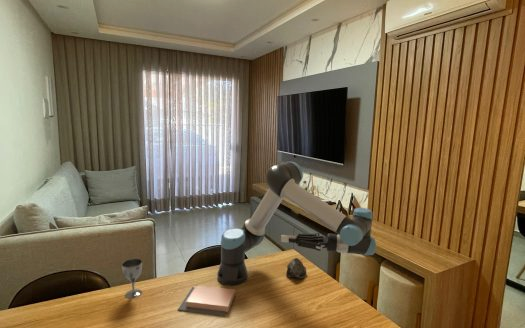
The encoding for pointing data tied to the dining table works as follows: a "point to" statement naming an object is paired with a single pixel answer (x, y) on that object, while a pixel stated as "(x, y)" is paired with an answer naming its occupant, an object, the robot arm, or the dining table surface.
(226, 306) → the tile
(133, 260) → the wine glass
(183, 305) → the mat
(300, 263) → the fossil
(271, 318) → the dining table surface
